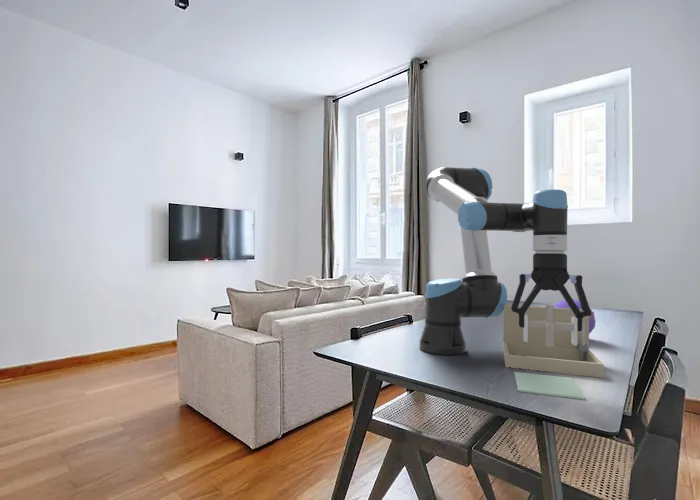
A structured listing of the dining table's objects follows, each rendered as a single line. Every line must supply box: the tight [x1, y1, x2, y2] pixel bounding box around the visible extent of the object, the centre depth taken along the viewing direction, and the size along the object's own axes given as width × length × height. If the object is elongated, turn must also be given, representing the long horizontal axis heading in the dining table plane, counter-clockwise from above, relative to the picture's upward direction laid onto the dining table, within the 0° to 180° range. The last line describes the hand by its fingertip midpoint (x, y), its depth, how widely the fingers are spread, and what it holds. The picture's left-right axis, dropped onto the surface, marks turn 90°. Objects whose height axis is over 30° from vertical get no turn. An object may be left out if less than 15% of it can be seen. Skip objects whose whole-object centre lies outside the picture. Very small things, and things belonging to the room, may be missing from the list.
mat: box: [513, 371, 587, 401], centre depth 95 cm, size 14×14×1 cm
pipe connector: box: [528, 304, 573, 346], centre depth 95 cm, size 10×10×10 cm
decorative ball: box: [553, 298, 596, 335], centre depth 145 cm, size 15×15×15 cm
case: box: [502, 304, 605, 379], centre depth 113 cm, size 24×17×16 cm
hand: (549, 342), depth 95 cm, fingers closed on pipe connector, 10 cm apart
